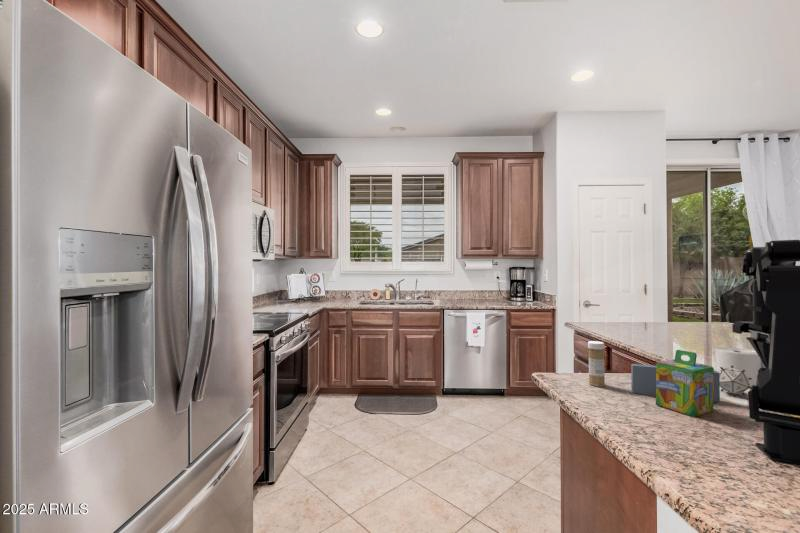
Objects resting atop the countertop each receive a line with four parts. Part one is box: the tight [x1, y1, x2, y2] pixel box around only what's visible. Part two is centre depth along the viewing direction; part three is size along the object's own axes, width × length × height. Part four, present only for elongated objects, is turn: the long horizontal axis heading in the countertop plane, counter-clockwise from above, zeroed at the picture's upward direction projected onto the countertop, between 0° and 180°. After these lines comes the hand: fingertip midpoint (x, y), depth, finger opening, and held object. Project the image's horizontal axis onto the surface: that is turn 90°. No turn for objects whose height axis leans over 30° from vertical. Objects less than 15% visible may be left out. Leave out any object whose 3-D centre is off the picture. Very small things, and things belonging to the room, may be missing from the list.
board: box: [630, 363, 721, 403], centre depth 103 cm, size 2×20×8 cm, turn 66°
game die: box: [719, 365, 752, 398], centre depth 105 cm, size 9×8×10 cm
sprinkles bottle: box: [587, 340, 606, 388], centre depth 114 cm, size 5×5×14 cm
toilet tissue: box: [714, 346, 766, 387], centre depth 116 cm, size 11×12×10 cm
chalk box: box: [655, 349, 715, 418], centre depth 94 cm, size 9×9×15 cm
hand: (771, 371), depth 82 cm, fingers closed
